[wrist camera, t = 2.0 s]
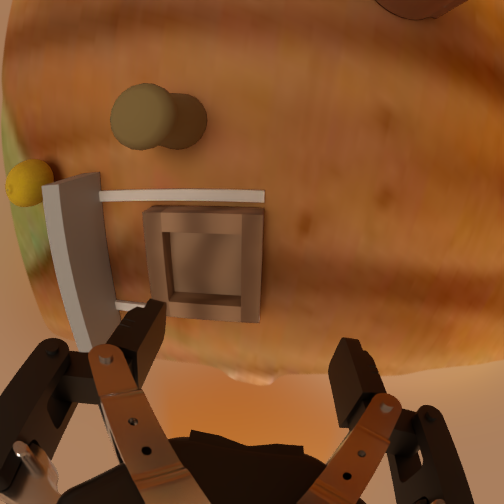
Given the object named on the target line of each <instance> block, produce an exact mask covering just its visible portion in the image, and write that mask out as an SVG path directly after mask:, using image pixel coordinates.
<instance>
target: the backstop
mask: <svg viewBox="0 0 504 504" xmlns="http://www.w3.org/2000/svg"><path fill="white" fill-rule="evenodd" d="M42 195H43V204H44V212H45V219H46V225H47V231H48V237H49V243H50V248H51V253H52V258H53V263H54V267H55V272H56V276H57V280H58V284H59V288H60V292H61V296H62V299H63V303H64V306H65V310H66V313H67V317H68V320H69V323H70V326H71V329H72V332H73V335H74V338H75V341H76V344H77V347H78V350H79V352H89V351H90V350H91V349H92V348H93V347H95V346H97V345H100V344H105V343H106V342H107V340H108V339H109V337H110V336H111V335H112V333H113V332H114V330H115V329H116V328H117V326H118V325H119V323H120V322H121V319H120V314H119V310H124V311H130V310H131V309H133V308H135V307H137V306H138V307H142V308H144V307H145V305H146V304H147V303H140V302H130V301H121V300H116V295H115V290H114V285H113V279H112V274H111V268H110V262H109V255H108V248H107V241H106V234H105V226H104V217H103V207H102V202H103V201H231V202H262V203H264V196H265V190H245V189H130V190H104V191H101V183H100V172H94V173H83V174H80V175H76V176H73V177H69V178H66V179H62V180H59V181H56V182H53V183H49V184H46V185H43V186H42ZM259 321H260V317H259Z"/></svg>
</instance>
